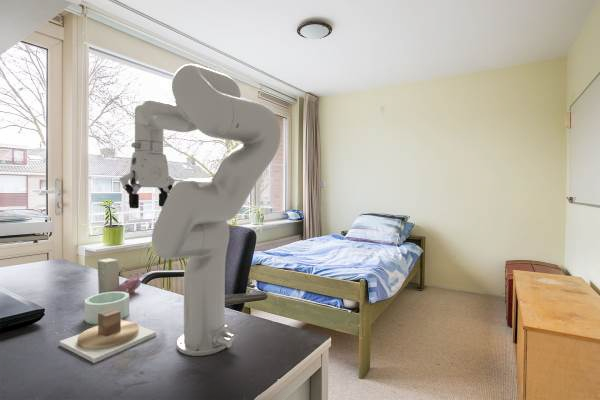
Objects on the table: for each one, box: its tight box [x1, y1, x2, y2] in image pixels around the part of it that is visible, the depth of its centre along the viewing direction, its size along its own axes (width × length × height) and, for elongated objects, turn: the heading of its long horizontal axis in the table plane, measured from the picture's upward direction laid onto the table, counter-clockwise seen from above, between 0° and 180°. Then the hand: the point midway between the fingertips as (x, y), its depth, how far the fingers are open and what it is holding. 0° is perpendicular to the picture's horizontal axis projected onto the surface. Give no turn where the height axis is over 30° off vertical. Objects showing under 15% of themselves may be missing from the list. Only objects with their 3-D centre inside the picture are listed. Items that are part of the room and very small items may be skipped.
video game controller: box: [113, 277, 142, 295], centre depth 112 cm, size 10×5×7 cm, turn 170°
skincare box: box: [97, 257, 120, 294], centre depth 112 cm, size 6×4×12 cm
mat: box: [59, 319, 157, 364], centre depth 79 cm, size 15×15×1 cm
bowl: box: [83, 292, 130, 325], centre depth 93 cm, size 11×11×6 cm
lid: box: [77, 309, 140, 349], centre depth 79 cm, size 13×13×6 cm
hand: (149, 207), depth 95 cm, fingers open, 9 cm apart
